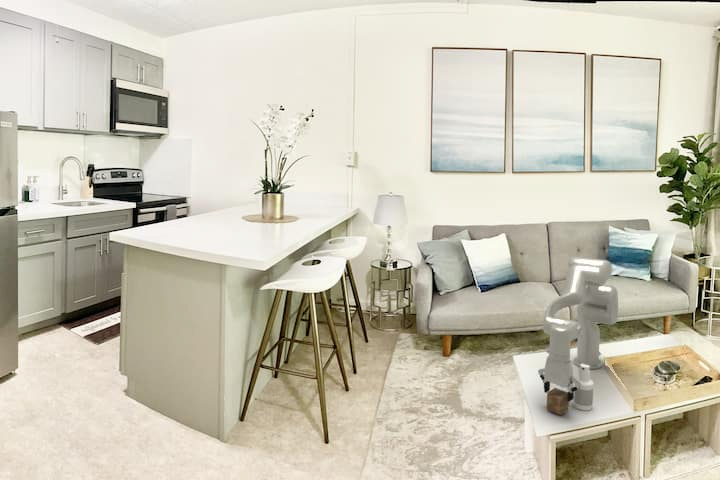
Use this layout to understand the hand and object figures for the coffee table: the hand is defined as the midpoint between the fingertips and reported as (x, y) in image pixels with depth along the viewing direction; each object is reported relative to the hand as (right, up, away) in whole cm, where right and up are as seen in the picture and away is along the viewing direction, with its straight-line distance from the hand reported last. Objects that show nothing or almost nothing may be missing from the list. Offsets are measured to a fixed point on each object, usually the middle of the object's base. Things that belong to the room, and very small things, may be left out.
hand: (558, 395), depth 189 cm
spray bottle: (+12, -6, +4) cm, 14 cm away
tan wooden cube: (0, -6, +1) cm, 6 cm away
